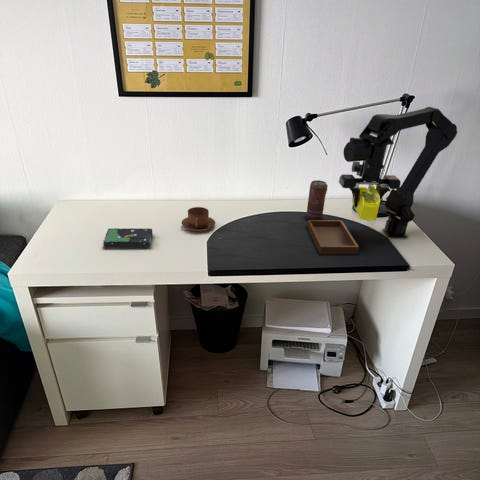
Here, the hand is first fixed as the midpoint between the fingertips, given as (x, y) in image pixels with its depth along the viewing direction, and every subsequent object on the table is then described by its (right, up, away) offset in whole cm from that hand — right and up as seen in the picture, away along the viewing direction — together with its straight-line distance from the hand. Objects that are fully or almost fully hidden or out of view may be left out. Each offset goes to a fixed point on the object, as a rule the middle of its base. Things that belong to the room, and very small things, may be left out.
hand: (364, 207), depth 146 cm
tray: (-10, -10, +6) cm, 15 cm away
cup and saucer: (-57, -5, +11) cm, 58 cm away
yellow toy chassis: (0, -2, +1) cm, 2 cm away
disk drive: (-79, -12, 0) cm, 80 cm away
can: (-13, +1, +21) cm, 25 cm away
